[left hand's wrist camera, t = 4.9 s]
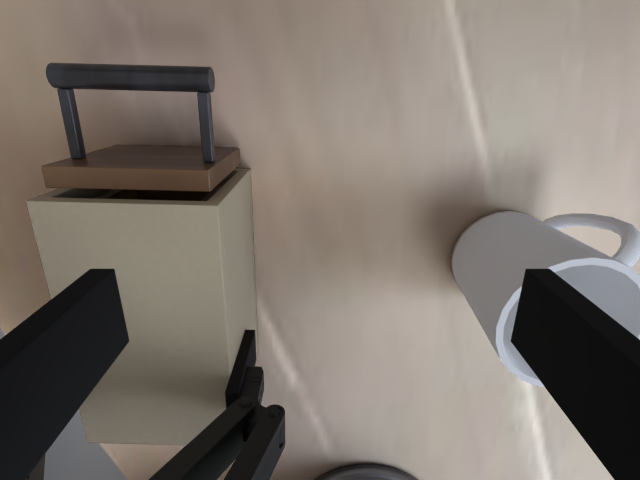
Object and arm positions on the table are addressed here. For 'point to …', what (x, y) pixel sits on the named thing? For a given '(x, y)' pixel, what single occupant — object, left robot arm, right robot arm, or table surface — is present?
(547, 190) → the table surface
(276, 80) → the table surface
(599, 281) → the mug
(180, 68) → the drawer
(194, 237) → the cabinet
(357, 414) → the table surface
